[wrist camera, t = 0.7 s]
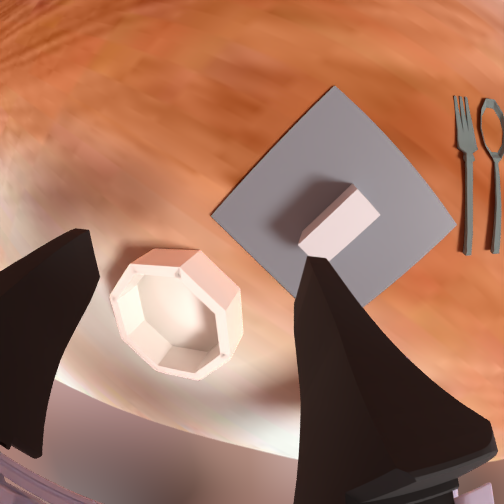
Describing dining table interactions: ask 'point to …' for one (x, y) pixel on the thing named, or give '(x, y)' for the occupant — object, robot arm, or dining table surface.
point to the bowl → (178, 312)
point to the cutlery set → (468, 147)
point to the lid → (336, 203)
